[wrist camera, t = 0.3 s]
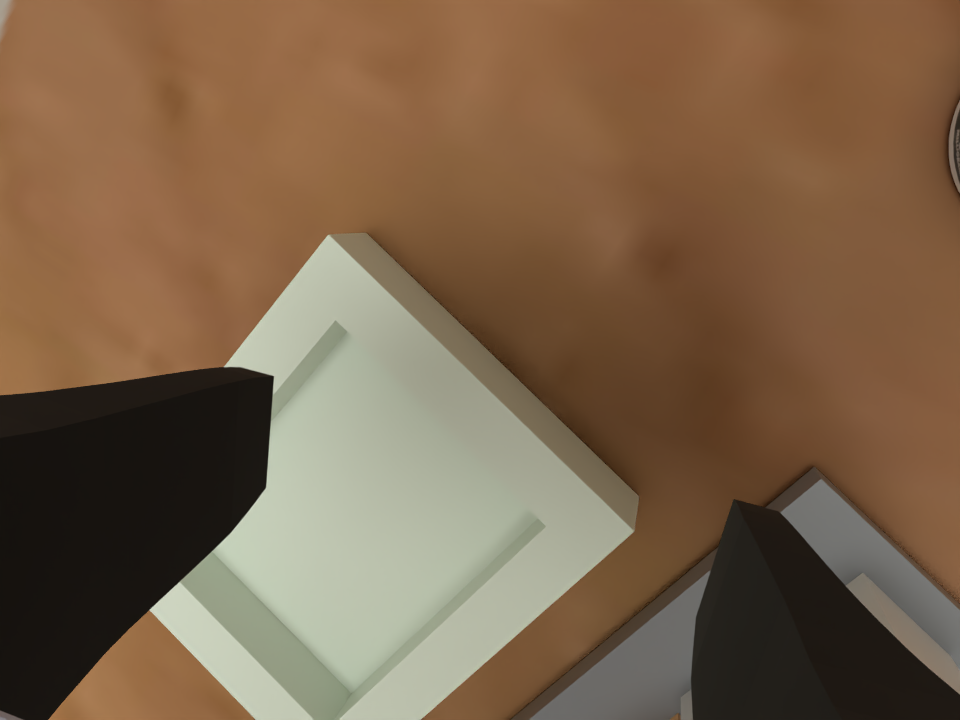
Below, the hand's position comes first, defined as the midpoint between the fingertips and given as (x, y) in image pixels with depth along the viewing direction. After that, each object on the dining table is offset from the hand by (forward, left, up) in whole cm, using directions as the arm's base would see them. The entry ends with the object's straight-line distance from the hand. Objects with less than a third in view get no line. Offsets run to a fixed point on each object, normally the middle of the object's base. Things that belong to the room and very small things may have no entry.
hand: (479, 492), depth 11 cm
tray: (-8, +1, -10) cm, 13 cm away
